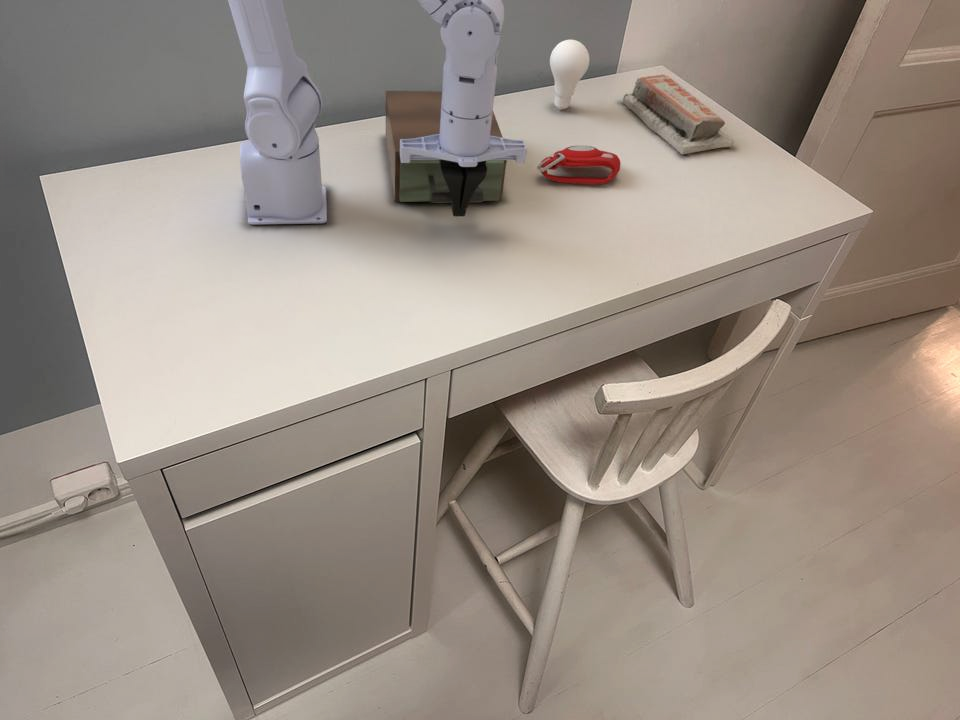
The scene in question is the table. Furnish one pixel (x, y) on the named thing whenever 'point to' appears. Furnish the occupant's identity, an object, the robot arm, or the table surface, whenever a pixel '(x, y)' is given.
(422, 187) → the drawer
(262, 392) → the table surface
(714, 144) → the packaged product
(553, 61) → the lightbulb
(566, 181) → the tracker holder
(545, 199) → the table surface
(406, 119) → the cabinet
